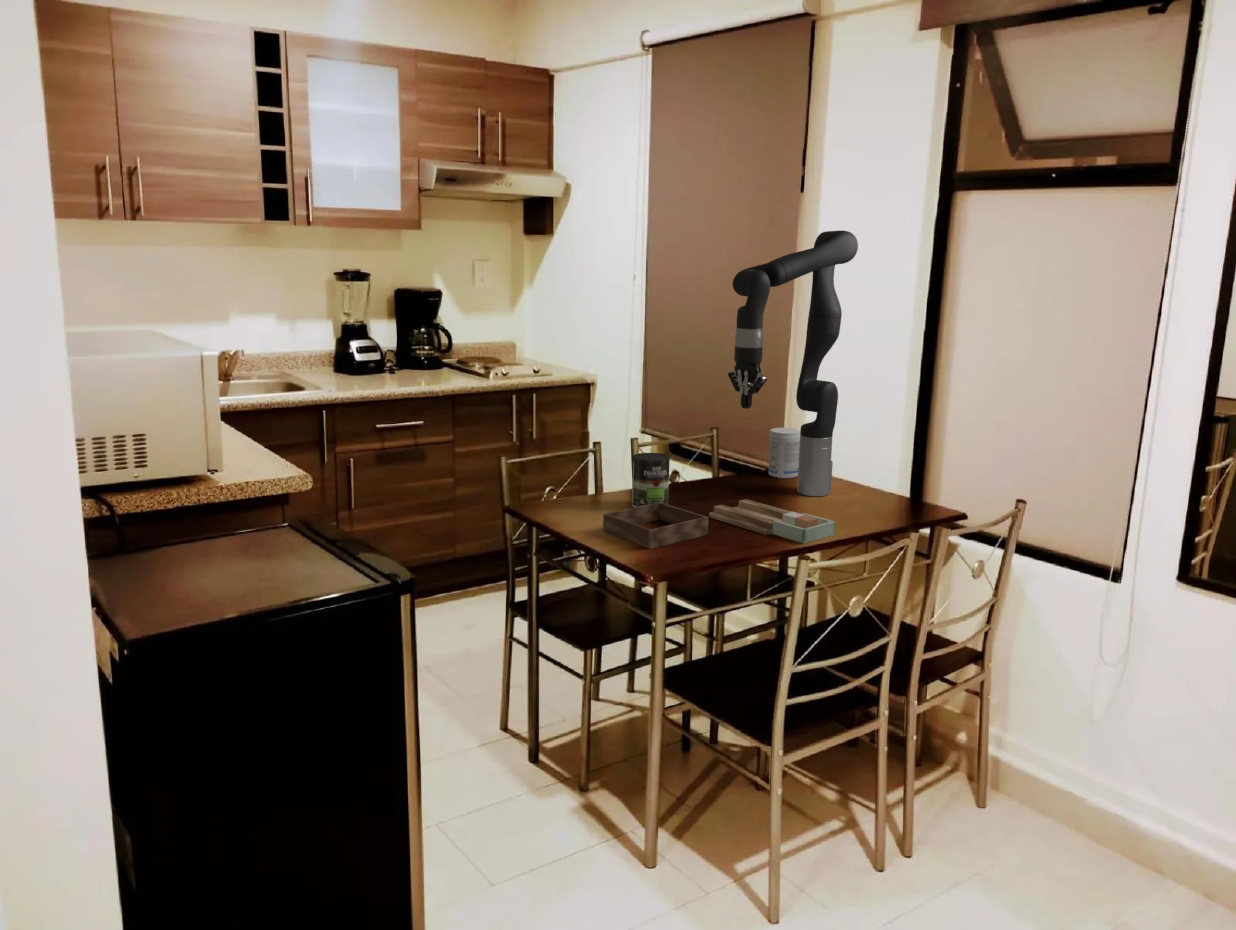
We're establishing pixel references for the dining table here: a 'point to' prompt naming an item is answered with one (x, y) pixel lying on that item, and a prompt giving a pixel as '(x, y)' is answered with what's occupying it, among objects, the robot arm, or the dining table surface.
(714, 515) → the slot board
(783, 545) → the dining table surface
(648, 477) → the coffee can
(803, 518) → the orange cube
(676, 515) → the brown shallow square box
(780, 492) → the dining table surface
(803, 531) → the tray
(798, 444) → the supplement tub
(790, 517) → the light grey cube
